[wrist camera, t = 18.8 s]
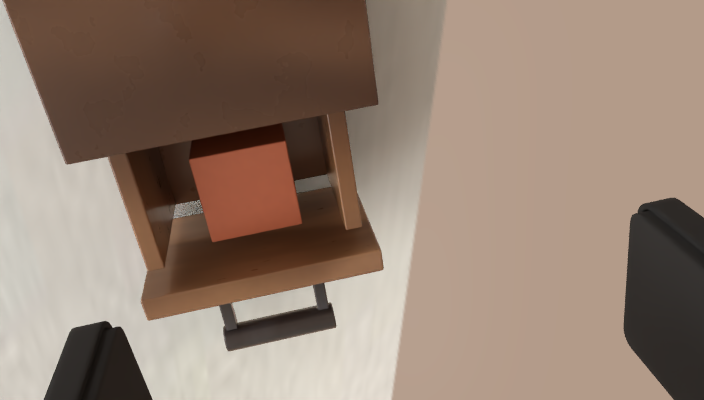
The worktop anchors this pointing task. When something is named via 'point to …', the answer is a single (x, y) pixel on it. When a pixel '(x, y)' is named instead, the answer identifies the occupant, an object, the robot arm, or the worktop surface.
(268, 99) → the cabinet
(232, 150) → the block
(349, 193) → the drawer
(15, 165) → the worktop surface
